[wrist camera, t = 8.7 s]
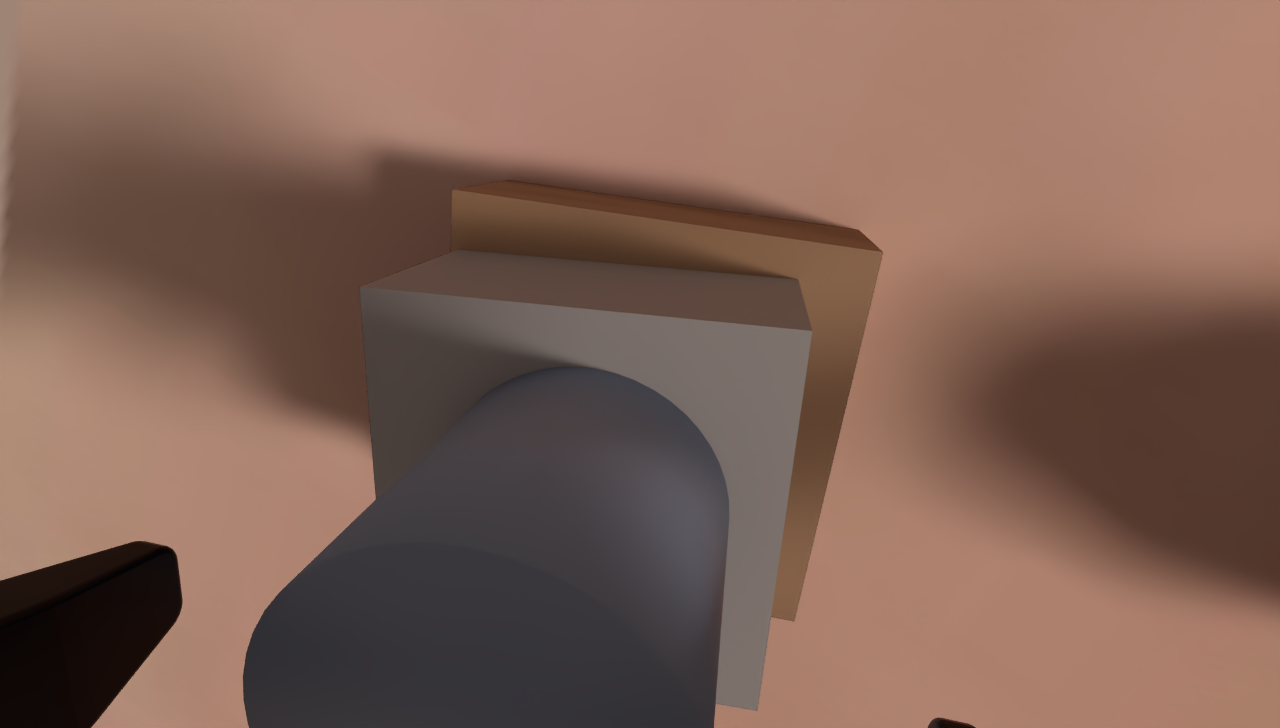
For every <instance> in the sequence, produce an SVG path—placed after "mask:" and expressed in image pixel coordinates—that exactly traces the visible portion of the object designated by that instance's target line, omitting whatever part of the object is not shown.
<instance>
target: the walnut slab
mask: <svg viewBox="0 0 1280 728" xmlns="http://www.w3.org/2000/svg"><path fill="white" fill-rule="evenodd" d="M456 250H468V251H480V252H491V253H502V254H514V255H525V256H537V257H548V258H559V259H571V260H582V261H594V262H605V263H616V264H628V265H639V266H650V267H662V268H673V269H685V270H696V271H707V272H719V273H730V274H742V275H753V276H764V277H776V278H787V279H798V280H799V284H800V288H801V291H802V295H803V299H804V302H805V306H806V310H807V313H808V317H809V320H810V324H811V328H812V337H811V344H810V351H809V358H808V365H807V372H806V379H805V386H804V393H803V399H802V406H801V413H800V420H799V427H798V434H797V441H796V448H795V455H794V462H793V469H792V476H791V482H790V489H789V496H788V503H787V510H786V517H785V524H784V531H783V538H782V545H781V552H780V558H779V565H778V572H777V579H776V586H775V593H774V600H773V607H772V614H771V617H774V618H779V619H784V620H789V621H793V622H794V621H795V616H796V612H797V608H798V604H799V600H800V596H801V591H802V587H803V583H804V579H805V575H806V571H807V567H808V562H809V558H810V554H811V550H812V546H813V542H814V537H815V533H816V529H817V525H818V521H819V517H820V513H821V508H822V504H823V500H824V496H825V492H826V488H827V483H828V479H829V475H830V471H831V467H832V463H833V458H834V454H835V450H836V446H837V442H838V438H839V434H840V429H841V425H842V421H843V417H844V413H845V409H846V404H847V400H848V396H849V392H850V388H851V384H852V380H853V375H854V371H855V367H856V363H857V359H858V355H859V350H860V346H861V342H862V338H863V334H864V330H865V326H866V321H867V317H868V313H869V309H870V305H871V301H872V296H873V292H874V288H875V284H876V280H877V276H878V271H879V267H880V263H881V259H882V255H883V252H882V251H881V250H880V249H879V248H878V247H877V246H876V245H875V244H874V243H873V242H871V241H870V240H869V239H868V238H867V237H866V236H865V235H864V234H863V233H862V232H860V231H859V230H854V229H847V228H840V227H833V226H826V225H819V224H812V223H805V222H798V221H791V220H784V219H777V218H770V217H763V216H756V215H749V214H742V213H735V212H728V211H721V210H714V209H707V208H700V207H693V206H686V205H679V204H672V203H665V202H657V201H650V200H643V199H636V198H629V197H622V196H615V195H608V194H601V193H594V192H587V191H580V190H573V189H566V188H559V187H552V186H545V185H538V184H531V183H524V182H517V181H510V180H507V181H501V182H495V183H489V184H483V185H477V186H471V187H464V188H458V189H452V212H451V246H450V252H453V251H456Z"/></svg>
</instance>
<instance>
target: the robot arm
mask: <svg viewBox="0 0 1280 728" xmlns="http://www.w3.org/2000/svg"><path fill="white" fill-rule="evenodd" d="M181 608H182V592H181V584H180V576H179V568H178V560H177V555H176V553H175V552H174V551H173V549H171V548H170V547H168V546H164V545H159V544H155V543H150V542H146V541H135V542H131V543H128V544H124V545H121V546H117V547H114V548H111V549H107V550H104V551H100V552H97V553H93V554H90V555H87V556H83V557H80V558H76V559H73V560H70V561H66V562H63V563H59V564H56V565H53V566H49V567H46V568H42V569H39V570H36V571H32V572H29V573H25V574H22V575H18V576H15V577H12V578H8V579H5V580H1V581H0V728H91V727H92V726H93V725H94V724H95V722H96V721H97V720H98V719H99V718H100V716H101V715H102V714H103V713H104V711H105V710H106V709H107V707H108V706H109V705H110V704H111V702H112V701H113V700H114V699H115V697H116V696H117V695H118V694H119V692H120V691H121V690H122V689H123V687H124V686H125V685H126V684H127V682H128V681H129V680H130V679H131V677H132V676H133V675H134V674H135V672H136V671H137V670H138V669H139V667H140V666H141V665H142V664H143V662H144V661H145V660H146V659H147V657H148V656H149V655H150V654H151V652H152V651H153V650H154V649H155V647H156V646H157V645H158V644H159V642H160V641H161V640H162V639H163V637H164V636H165V635H166V634H167V632H168V631H169V630H170V629H171V627H172V626H173V625H174V623H175V622H176V620H177V618H178V616H179V614H180V611H181ZM928 728H976V727H974V726H972V725H970V724H967V723H963V722H958V721H954V720H949V719H945V718H935V719H933V720H932V721H931V722H930V724H929V726H928Z"/></svg>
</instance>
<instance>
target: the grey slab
mask: <svg viewBox="0 0 1280 728" xmlns="http://www.w3.org/2000/svg"><path fill="white" fill-rule="evenodd" d="M359 289H360V302H361V315H362V328H363V341H364V353H365V366H366V379H367V392H368V405H369V417H370V430H371V443H372V456H373V469H374V481H375V494H376V499H377V498H378V497H379V496H380V495H381V494H382V493H383V492H384V491H385V490H386V489H388V488H389V487H390V486H391V485H392V484H393V483H394V482H395V481H396V480H397V479H398V478H399V477H400V476H401V475H402V474H403V473H404V472H405V471H406V470H407V469H408V468H409V467H410V466H411V465H412V464H414V463H415V462H416V461H417V460H418V459H419V458H420V457H421V456H422V455H423V454H424V453H425V452H426V451H427V450H428V449H429V448H430V447H431V446H432V445H433V444H434V443H435V442H436V441H437V440H438V439H439V438H441V437H442V436H443V435H444V434H445V433H446V432H447V431H448V430H449V429H450V428H451V427H452V426H453V425H454V424H455V423H456V422H457V421H458V420H459V419H460V418H461V417H462V416H463V415H464V414H465V413H467V412H468V411H469V410H470V409H471V408H472V407H473V406H474V405H475V404H476V403H477V402H478V401H479V400H480V399H482V398H483V397H484V396H485V395H486V394H487V393H488V392H490V391H492V390H493V389H495V388H496V387H498V386H499V385H501V384H502V383H504V382H507V381H509V380H511V379H513V378H515V377H518V376H520V375H523V374H526V373H530V372H533V371H537V370H542V369H549V368H555V367H583V368H592V369H599V370H603V371H607V372H612V373H616V374H619V375H622V376H624V377H627V378H630V379H632V380H635V381H637V382H639V383H641V384H643V385H645V386H647V387H649V388H651V389H653V390H655V391H656V392H658V393H659V394H661V395H662V396H664V397H665V398H666V399H668V400H669V401H671V402H672V403H673V404H674V405H676V406H677V407H678V408H679V409H680V410H681V411H682V412H684V413H685V414H686V415H687V416H688V417H689V418H690V420H691V421H692V422H693V423H694V424H695V425H696V426H697V427H698V428H699V430H700V431H701V432H702V434H703V435H704V437H705V438H706V440H707V441H708V443H709V444H710V446H711V447H712V449H713V451H714V453H715V455H716V457H717V459H718V461H719V463H720V466H721V469H722V472H723V475H724V478H725V481H726V486H727V491H728V497H729V515H730V517H729V530H728V543H727V557H726V570H725V583H724V597H723V610H722V623H721V636H720V650H719V663H718V676H717V690H716V703H715V704H720V705H726V706H732V707H737V708H743V709H749V710H755V711H758V704H759V697H760V690H761V683H762V676H763V669H764V662H765V655H766V648H767V641H768V635H769V628H770V621H771V614H772V607H773V600H774V593H775V586H776V579H777V572H778V565H779V558H780V552H781V545H782V538H783V531H784V524H785V517H786V510H787V503H788V496H789V489H790V482H791V476H792V469H793V462H794V455H795V448H796V441H797V434H798V427H799V420H800V413H801V406H802V399H803V393H804V386H805V379H806V372H807V365H808V358H809V351H810V344H811V337H812V328H811V324H810V320H809V317H808V313H807V310H806V306H805V302H804V299H803V295H802V291H801V288H800V284H799V280H798V279H787V278H776V277H764V276H753V275H742V274H730V273H719V272H707V271H696V270H685V269H673V268H662V267H650V266H639V265H628V264H616V263H605V262H594V261H582V260H571V259H559V258H548V257H537V256H525V255H514V254H502V253H491V252H480V251H468V250H456V251H453V252H450V253H448V254H445V255H442V256H440V257H437V258H434V259H432V260H429V261H426V262H424V263H421V264H418V265H416V266H413V267H410V268H408V269H405V270H402V271H400V272H397V273H395V274H392V275H389V276H387V277H384V278H381V279H379V280H376V281H373V282H371V283H368V284H365V285H363V286H360V287H359Z"/></svg>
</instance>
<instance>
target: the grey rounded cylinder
mask: <svg viewBox="0 0 1280 728" xmlns="http://www.w3.org/2000/svg"><path fill="white" fill-rule="evenodd" d="M729 517H730V515H729V497H728V491H727V486H726V481H725V478H724V475H723V472H722V469H721V466H720V463H719V461H718V459H717V457H716V455H715V453H714V451H713V449H712V447H711V446H710V444H709V443H708V441H707V440H706V438H705V437H704V435H703V434H702V432H701V431H700V430H699V428H698V427H697V426H696V425H695V424H694V423H693V422H692V421H691V420H690V418H689V417H688V416H687V415H686V414H685V413H684V412H682V411H681V410H680V409H679V408H678V407H677V406H676V405H674V404H673V403H672V402H671V401H669V400H668V399H666V398H665V397H664V396H662V395H661V394H659V393H658V392H656V391H655V390H653V389H651V388H649V387H647V386H645V385H643V384H641V383H639V382H637V381H635V380H632V379H630V378H627V377H624V376H622V375H619V374H616V373H612V372H607V371H603V370H599V369H592V368H583V367H555V368H549V369H542V370H537V371H533V372H530V373H526V374H523V375H520V376H518V377H515V378H513V379H511V380H509V381H507V382H504V383H502V384H501V385H499V386H498V387H496V388H495V389H493V390H492V391H490V392H488V393H487V394H486V395H485V396H484V397H483V398H482V399H480V400H479V401H478V402H477V403H476V404H475V405H474V406H473V407H472V408H471V409H470V410H469V411H468V412H467V413H465V414H464V415H463V416H462V417H461V418H460V419H459V420H458V421H457V422H456V423H455V424H454V425H453V426H452V427H451V428H450V429H449V430H448V431H447V432H446V433H445V434H444V435H443V436H442V437H441V438H439V439H438V440H437V441H436V442H435V443H434V444H433V445H432V446H431V447H430V448H429V449H428V450H427V451H426V452H425V453H424V454H423V455H422V456H421V457H420V458H419V459H418V460H417V461H416V462H415V463H414V464H412V465H411V466H410V467H409V468H408V469H407V470H406V471H405V472H404V473H403V474H402V475H401V476H400V477H399V478H398V479H397V480H396V481H395V482H394V483H393V484H392V485H391V486H390V487H389V488H388V489H386V490H385V491H384V492H383V493H382V494H381V495H380V496H379V497H378V498H377V499H376V500H375V501H374V502H373V503H372V504H371V505H370V506H369V507H368V508H367V509H366V510H365V511H364V512H363V513H362V514H361V515H359V516H358V517H357V518H356V519H355V520H354V521H353V522H352V523H351V524H350V525H349V526H348V527H347V528H346V529H345V530H344V531H343V532H342V533H341V534H340V535H339V536H338V537H337V538H336V539H335V540H334V541H332V542H331V543H330V544H329V545H328V546H327V547H326V548H325V549H324V550H323V551H322V552H321V553H320V554H319V555H318V556H317V557H316V558H315V559H314V560H313V561H312V562H311V563H310V564H309V565H308V566H306V567H305V568H304V569H303V570H302V571H301V572H300V573H299V574H298V575H297V576H296V577H295V578H294V579H293V580H292V581H291V582H290V583H289V584H288V585H287V586H286V587H285V588H284V589H283V590H282V591H281V592H279V594H278V595H277V596H276V597H275V599H274V600H273V601H272V602H271V604H270V605H269V606H268V607H267V609H266V610H265V611H264V613H263V615H262V616H261V618H260V620H259V622H258V624H257V626H256V628H255V629H254V631H253V634H252V637H251V640H250V643H249V646H248V650H247V653H246V659H245V666H244V673H243V692H244V704H245V710H246V715H247V721H248V725H249V728H714V716H715V703H716V690H717V676H718V663H719V650H720V636H721V623H722V610H723V597H724V583H725V570H726V557H727V543H728V530H729Z"/></svg>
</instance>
